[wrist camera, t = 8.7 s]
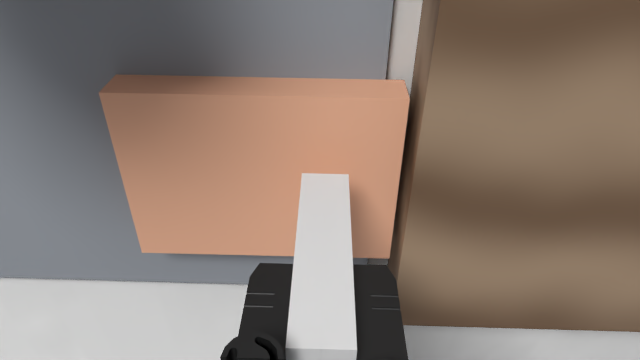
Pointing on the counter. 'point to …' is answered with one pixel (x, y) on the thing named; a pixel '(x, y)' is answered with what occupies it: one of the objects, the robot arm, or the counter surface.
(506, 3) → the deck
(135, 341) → the counter surface
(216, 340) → the counter surface
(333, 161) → the card
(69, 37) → the mat
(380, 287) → the robot arm
